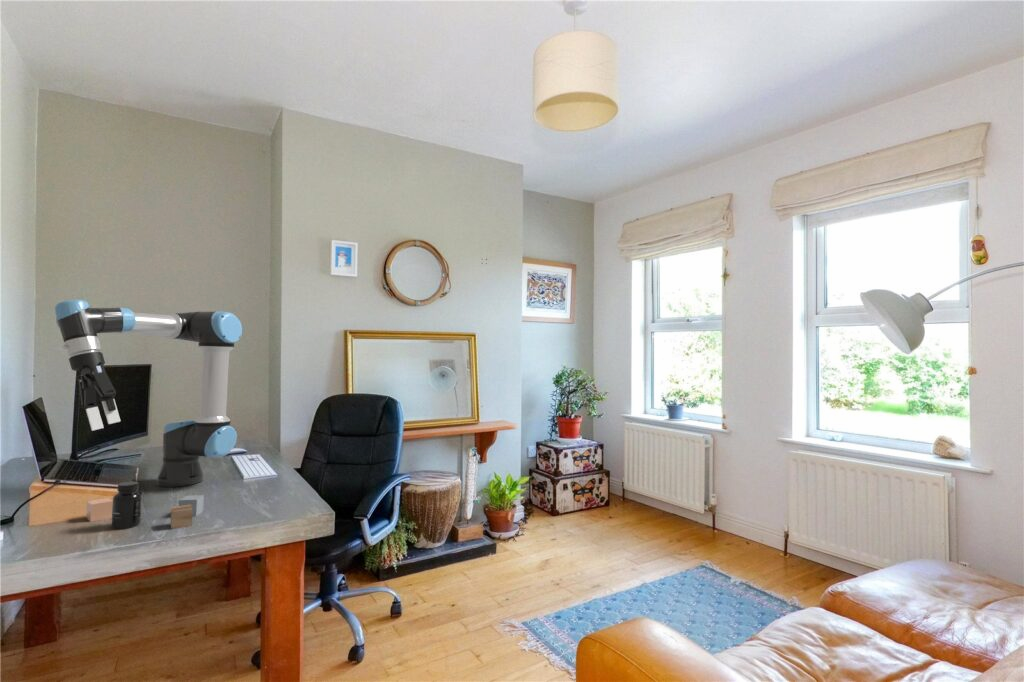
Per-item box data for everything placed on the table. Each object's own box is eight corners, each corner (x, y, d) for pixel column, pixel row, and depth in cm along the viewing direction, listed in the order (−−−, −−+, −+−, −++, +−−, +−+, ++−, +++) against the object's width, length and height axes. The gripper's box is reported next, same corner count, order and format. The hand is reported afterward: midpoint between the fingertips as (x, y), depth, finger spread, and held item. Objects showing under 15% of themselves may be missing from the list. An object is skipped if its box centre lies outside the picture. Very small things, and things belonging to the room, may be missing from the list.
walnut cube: (170, 524, 149) (171, 507, 149) (190, 521, 152) (191, 504, 152) (171, 529, 145) (171, 511, 145) (191, 526, 148) (192, 509, 148)
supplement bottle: (106, 530, 143) (108, 487, 143) (118, 522, 149) (119, 481, 150) (135, 528, 145) (136, 485, 145) (145, 521, 151) (146, 479, 151)
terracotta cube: (86, 518, 153) (87, 501, 153) (107, 514, 157) (108, 497, 157) (90, 521, 150) (91, 504, 150) (111, 517, 153) (112, 501, 154)
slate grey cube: (185, 511, 161) (186, 495, 161) (203, 511, 162) (203, 495, 162) (178, 516, 156) (178, 500, 156) (196, 516, 157) (196, 499, 157)
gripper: (55, 365, 150) (75, 435, 150) (83, 346, 136) (105, 423, 136) (87, 360, 156) (106, 428, 156) (116, 342, 142) (137, 416, 142)
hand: (106, 426), depth 146 cm, fingers open, 13 cm apart
